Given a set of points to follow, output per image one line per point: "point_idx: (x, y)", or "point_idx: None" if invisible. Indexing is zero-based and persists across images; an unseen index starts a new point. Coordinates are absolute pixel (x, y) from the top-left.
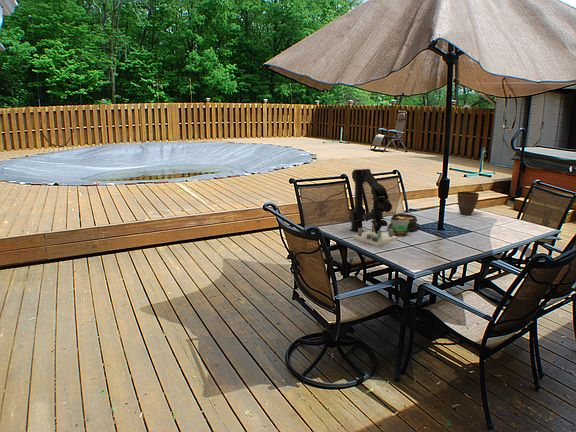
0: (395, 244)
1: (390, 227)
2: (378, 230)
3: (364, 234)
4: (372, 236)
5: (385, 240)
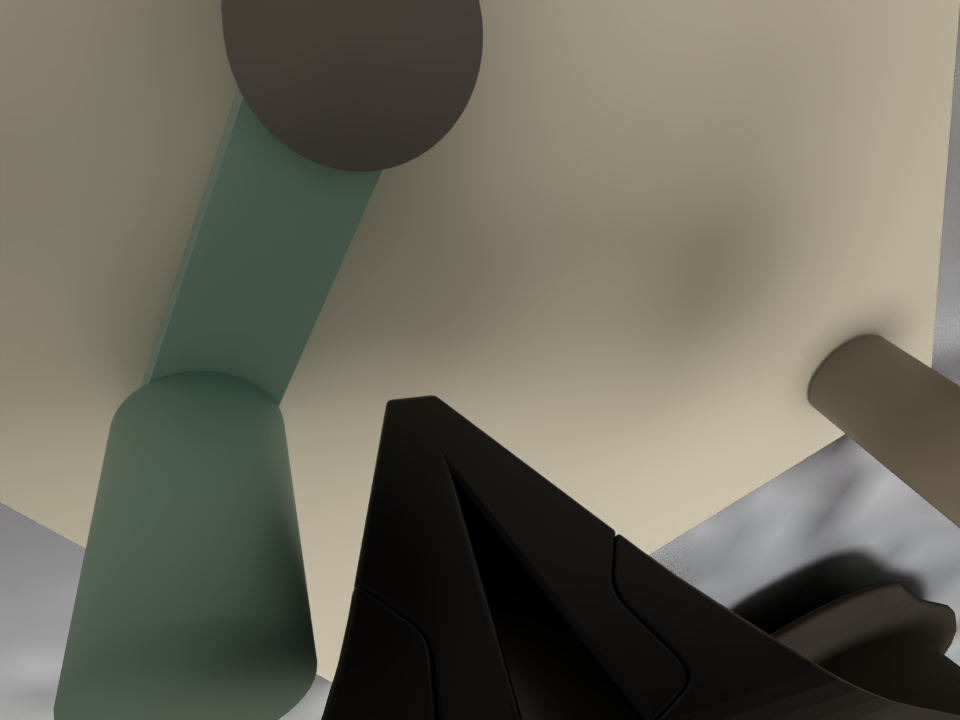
0: (22, 641)
1: (843, 620)
2: (232, 649)
3: (813, 41)
4: (311, 205)
5: (70, 532)
